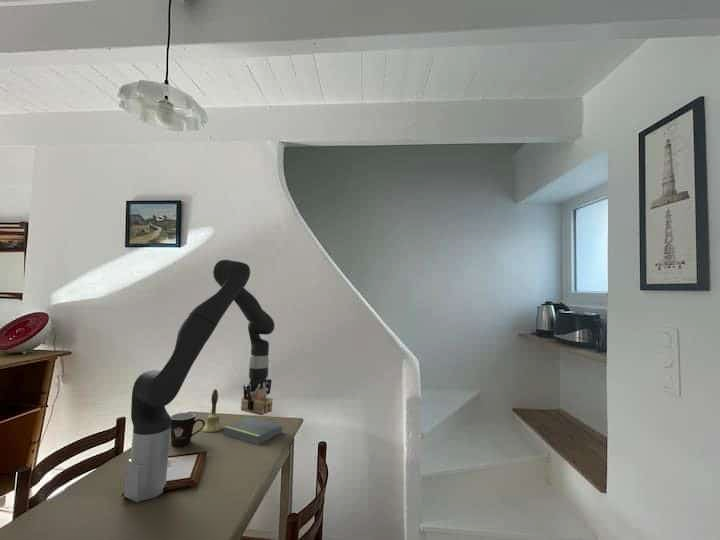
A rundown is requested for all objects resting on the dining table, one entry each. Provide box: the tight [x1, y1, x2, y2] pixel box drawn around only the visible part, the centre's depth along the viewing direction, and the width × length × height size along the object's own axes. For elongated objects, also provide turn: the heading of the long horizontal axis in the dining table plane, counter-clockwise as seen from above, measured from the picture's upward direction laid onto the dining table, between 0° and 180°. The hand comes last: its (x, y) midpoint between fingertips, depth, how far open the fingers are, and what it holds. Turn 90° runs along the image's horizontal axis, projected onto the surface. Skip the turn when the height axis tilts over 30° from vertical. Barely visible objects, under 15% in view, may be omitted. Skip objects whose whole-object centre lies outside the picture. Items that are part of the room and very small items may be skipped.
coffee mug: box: [170, 411, 206, 448], centre depth 132 cm, size 12×9×10 cm
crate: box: [251, 388, 265, 400], centre depth 144 cm, size 4×4×4 cm
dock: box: [223, 417, 283, 446], centre depth 143 cm, size 14×18×3 cm
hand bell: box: [201, 389, 224, 433], centre depth 148 cm, size 8×8×16 cm
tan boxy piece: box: [240, 396, 273, 416], centre depth 144 cm, size 6×11×5 cm, turn 62°
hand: (256, 407), depth 144 cm, fingers closed on tan boxy piece, 6 cm apart
